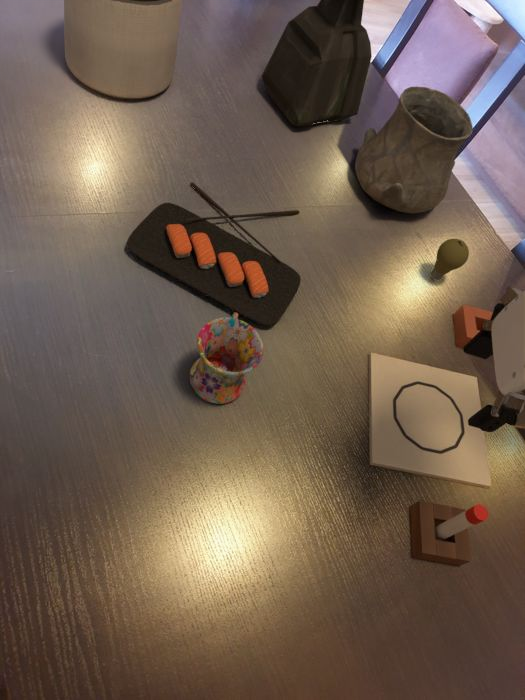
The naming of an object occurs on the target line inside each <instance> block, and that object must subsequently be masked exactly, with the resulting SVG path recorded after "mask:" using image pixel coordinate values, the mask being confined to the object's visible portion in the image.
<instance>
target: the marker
mask: <svg viewBox="0 0 525 700" xmlns="http://www.w3.org/2000/svg"><path fill="white" fill-rule="evenodd" d="M465 510H466V511H465V512H463V513H461V514H459V515H457V516H455V517H453V518H451V519H449V520H447V521H445V522H443V523H441V524H440V525H438V526H435V538H436V540H441V541H444V539H446V538H448V537H450V536H452V535H454V534H456V533H458V532H461V531H463V530H465V529H467V528H468V529H469V528H471V527H473V526H476V525H478V524H481V523H483V522H485V521H487V520H488V518H489V511H488V509H487V508H486V507H485V506H484V505H483V504H480V503H479V504H475V505H474V506H471V507H469V508H468V509H465Z"/></svg>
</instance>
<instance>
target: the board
mask: <svg viewBox="0 0 525 700" xmlns="http://www.w3.org/2000/svg"><path fill="white" fill-rule="evenodd" d="M480 398H481V397H480V390H479V383H478V377H477V376H474V375H468V374H465V373H461V372H456V371H453V370H449V369H444V368H439V367H435V366H431V365H427V364H423V363H418V362H413V361H410V360H405V359H401V358H397V357H393V356H388V355H383V354H380V353H375V352H370V353H369V354H368V421H369V422H368V424H369V425H368V426H369V427H368V430H369V432H368V433H369V434H368V435H369V437H368V438H369V465H370V466H373V467H374V466H375V467H379V468H384V469H389V470H395V471H399V472H404V473H409V474H413V475H417V476H424V477H428V478H434V479H438V480H444V481H449V482H454V483H459V484H465V485H469V486H474V487H478V488H483V489H489V488H491V487H492V480H491V472H490V465H489V458H488V450H487V442H486V436H485V435H486V434H485V431H482V430H481V429H480V428H476V427H472V426H469V425H468V419H469V418H470V417H471V416H473V415H474V414H475V413H477V412H478V411H479V410H481V409H482V405H481V399H480Z"/></svg>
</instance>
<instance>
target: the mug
mask: <svg viewBox="0 0 525 700" xmlns="http://www.w3.org/2000/svg"><path fill="white" fill-rule="evenodd" d="M196 341H197V342H196V345H197V350H198V353H199V355H200V357H199V358H197V360H196V361H195V362H194V363H193V364H192V366H191V369H190V371H189V380H190V381H189V382H190V384H191V387H192V389H193V391H194V392H195V393H196V394H197V395H198V396H199V397H200V398H201V399H202V400H204V401H206V402H209V403H211V404H217V405H218V404H219V405H220V404H227V403H231V402H232V401H235V400H236V399H238V398H239V397H240V396H241V395H242V393H243V391H244V390H245V385H246V376H245V374H248V373H250V372H252V371H253V370H255V369H256V368H257V367H258V366H259V365H260V363H261V361H262V360H263V356H264V344H263V340H262V337H261V336H260V334H259V332H257V330H256V329H255V328H254V327H253V326H252V325H250V324H249V323H248V322H246V321H244V320H242V319H239V313H237V312H235V311H234V312H233V313H232V315H231V317H230V316H229V317H226V316H225V317H218V318H214V319H212V320H210V321H208V322H207V323H206V324H204V326H202V327H201V329H200V331H199V333H198V336H197V340H196Z"/></svg>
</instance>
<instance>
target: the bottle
mask: <svg viewBox="0 0 525 700" xmlns="http://www.w3.org/2000/svg"><path fill="white" fill-rule="evenodd" d="M364 4H365V0H320V1H319V2H318V3H317V5H312V6H311V5H309V6H308V7H306V8H305V9H303V10H302V11H301V12H300V13H298V14H297V15H296V16H294V17H293V18H292V19H291V20H289V21H288V22H287V24H286V26H285V28H284V30H283V32H282V33H281V36H280V38H279V39H278V42H277V44H276V46H275V48H274V49H273V51H272V54H271V56H270V58H269V60H268V62H267V64H266V66H265V68H264V69H263V72H262V74H261V79H262V85H263V88H264V91H265V92H266V93H267V95H268V96H269V97H270V98H271V100H272V101H273V102H274V104H275V105H276V106H277V107H278V109H279V110H280V111H281V112H282V114H283V115H284V116H285V117H286V118H287V120H288V121H289V122H290V123H291V124H292V125H293V126H295V127H297V128H302V126H303V127H308V126H307V125H309V126H313V125H312V124H313V123H317V122H323V121H327V120H328V121H332V122H336V121H335V120H338V121H342V120H345V119H348V118H350V117H354V116H357V115H358V113H359V109H360V105H361V102H362V97H363V93H364V89H365V85H366V81H367V76H368V73H369V69H370V66H371V65H370V64H371V62H372V61H371V60H372V55H373V54H372V44H371V40H370V37H369V34H368V31H367V29H366V28H365V26H363V25H362V21H363V13H364ZM341 119H342V120H341Z"/></svg>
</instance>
